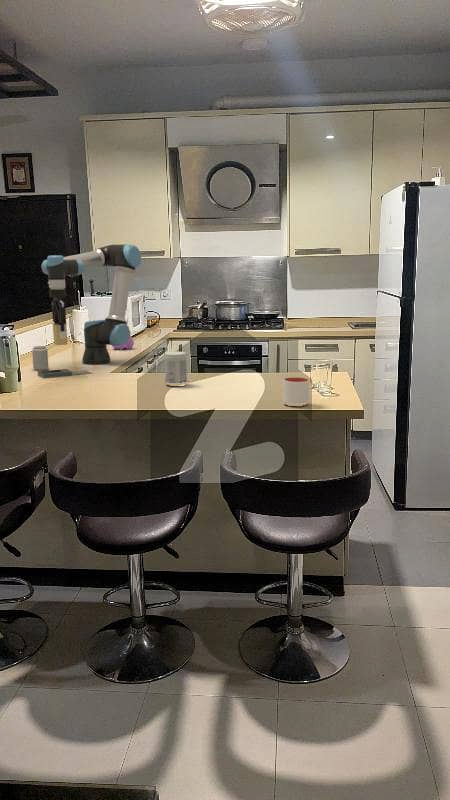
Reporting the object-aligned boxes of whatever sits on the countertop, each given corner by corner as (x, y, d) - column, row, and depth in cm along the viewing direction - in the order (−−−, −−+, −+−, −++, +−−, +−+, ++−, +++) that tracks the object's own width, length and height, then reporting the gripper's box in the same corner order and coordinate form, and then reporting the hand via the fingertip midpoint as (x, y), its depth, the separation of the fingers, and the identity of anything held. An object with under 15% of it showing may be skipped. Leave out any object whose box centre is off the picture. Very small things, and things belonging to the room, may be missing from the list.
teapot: (141, 350, 388) (140, 330, 385) (120, 352, 379) (120, 332, 377) (125, 346, 403) (125, 328, 401) (106, 348, 395) (105, 329, 392)
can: (44, 371, 311) (42, 347, 309) (30, 370, 313) (29, 347, 310) (51, 368, 318) (49, 345, 316) (37, 368, 320) (36, 345, 317)
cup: (280, 402, 245) (281, 377, 242) (305, 401, 245) (306, 377, 243) (285, 408, 235) (285, 382, 233) (310, 407, 236) (311, 382, 234)
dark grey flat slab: (65, 372, 307) (65, 368, 306) (72, 375, 300) (71, 371, 299) (37, 375, 299) (37, 371, 299) (43, 378, 292) (43, 373, 292)
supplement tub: (183, 382, 283) (183, 351, 280) (189, 386, 274) (189, 353, 271) (162, 384, 280) (162, 351, 277) (168, 388, 271) (167, 354, 268)
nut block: (64, 343, 302) (62, 322, 300) (67, 344, 298) (66, 323, 295) (53, 344, 299) (52, 323, 297) (57, 345, 295) (55, 324, 293)
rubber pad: (86, 370, 312) (86, 370, 312) (92, 373, 306) (92, 372, 306) (70, 372, 308) (70, 371, 308) (76, 374, 301) (76, 374, 301)
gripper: (43, 288, 298) (46, 336, 303) (55, 289, 283) (59, 340, 288) (58, 287, 302) (61, 334, 307) (71, 289, 287) (74, 339, 292)
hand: (60, 337), depth 298 cm, fingers closed on nut block, 5 cm apart
